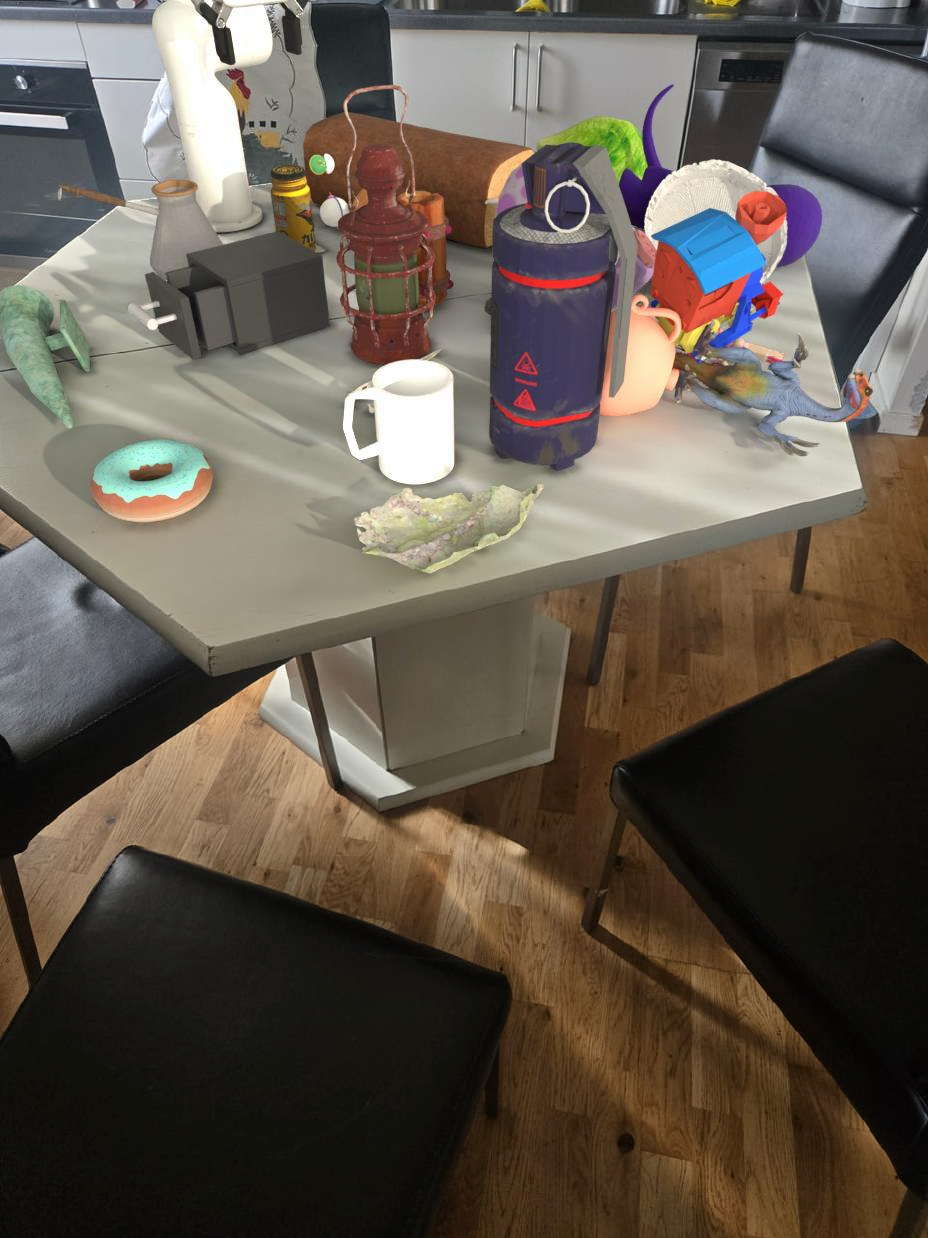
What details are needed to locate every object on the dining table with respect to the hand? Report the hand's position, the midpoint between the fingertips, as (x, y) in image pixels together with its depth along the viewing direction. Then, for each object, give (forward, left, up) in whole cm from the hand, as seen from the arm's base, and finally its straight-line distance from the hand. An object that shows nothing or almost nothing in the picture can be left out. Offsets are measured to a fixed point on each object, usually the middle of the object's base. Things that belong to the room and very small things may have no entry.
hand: (261, 57), depth 116 cm
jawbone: (+38, -6, -29) cm, 48 cm away
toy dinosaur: (+65, +15, -21) cm, 70 cm away
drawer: (+13, -20, -27) cm, 37 cm away
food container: (+44, +44, -19) cm, 64 cm away
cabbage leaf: (+74, -19, -24) cm, 80 cm away
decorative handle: (+31, +20, -28) cm, 47 cm away
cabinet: (+13, -12, -28) cm, 33 cm away
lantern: (+29, -2, -28) cm, 41 cm away
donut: (+42, -40, -28) cm, 65 cm away
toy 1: (-18, +17, -25) cm, 35 cm away
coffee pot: (-10, -17, -29) cm, 34 cm away
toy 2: (+29, +40, -24) cm, 55 cm away
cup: (+54, -17, -29) cm, 63 cm away
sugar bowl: (+57, +7, -21) cm, 61 cm away
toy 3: (+20, +51, -17) cm, 57 cm away
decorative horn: (+24, -47, -28) cm, 60 cm away
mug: (+18, +9, -29) cm, 35 cm away
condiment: (-9, +5, -29) cm, 30 cm away
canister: (+61, -2, -28) cm, 67 cm away
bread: (-9, +30, -28) cm, 42 cm away
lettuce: (+8, +58, -13) cm, 60 cm away
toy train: (+60, +24, -21) cm, 68 cm away
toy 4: (+67, +30, -27) cm, 78 cm away
